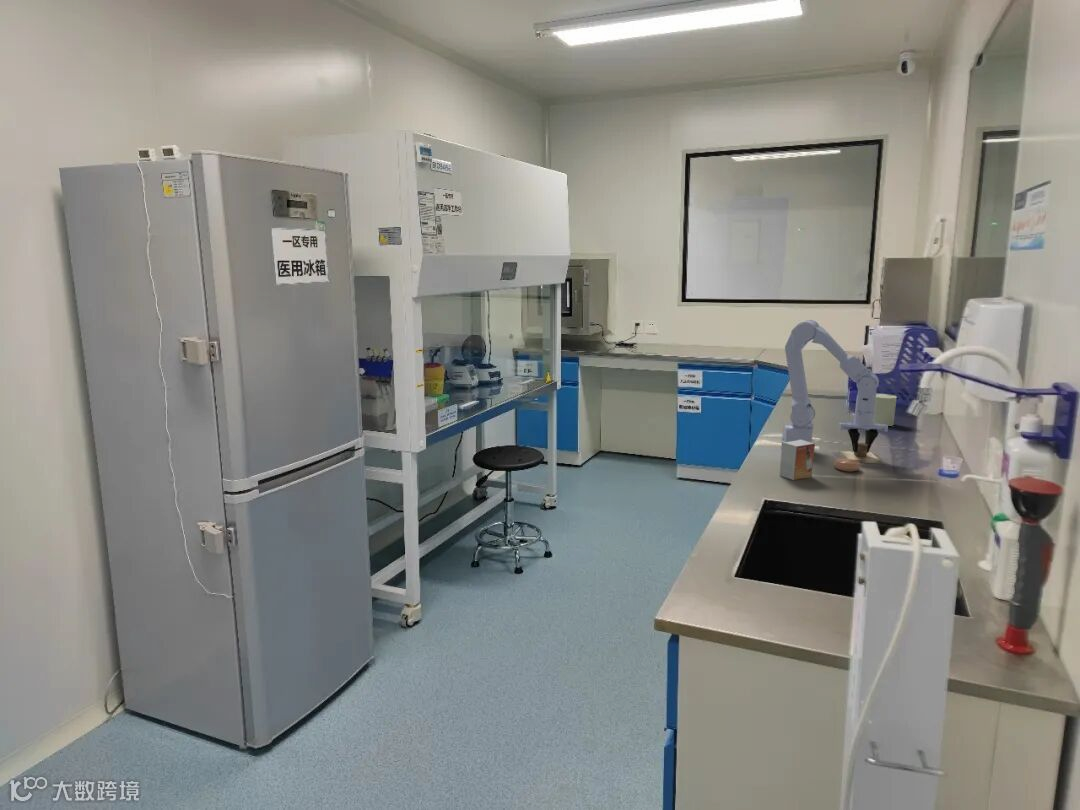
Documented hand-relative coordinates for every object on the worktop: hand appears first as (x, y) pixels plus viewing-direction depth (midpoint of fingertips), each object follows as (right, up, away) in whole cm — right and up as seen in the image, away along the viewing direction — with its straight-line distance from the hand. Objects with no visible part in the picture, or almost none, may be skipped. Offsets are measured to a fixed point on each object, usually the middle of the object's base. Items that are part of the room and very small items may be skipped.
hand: (860, 451), depth 225 cm
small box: (-27, -7, -17) cm, 33 cm away
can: (+31, +7, +50) cm, 60 cm away
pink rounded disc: (-10, -5, -11) cm, 16 cm away
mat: (0, -3, +1) cm, 3 cm away
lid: (0, -2, 0) cm, 2 cm away
